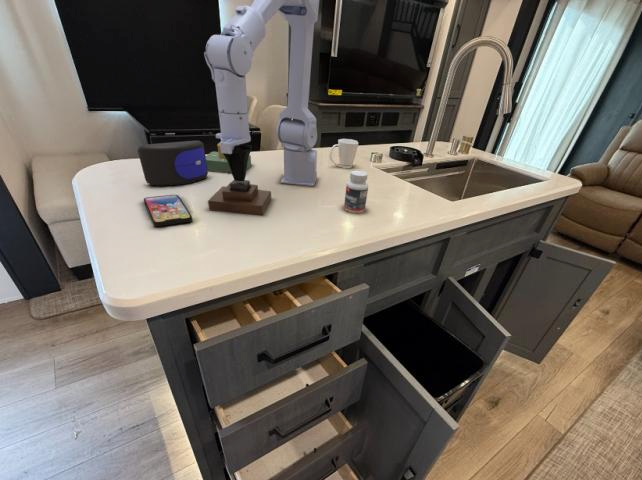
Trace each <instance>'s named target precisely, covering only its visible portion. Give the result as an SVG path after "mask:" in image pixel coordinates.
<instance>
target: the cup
mask: <svg viewBox="0 0 642 480" xmlns="http://www.w3.org/2000/svg"><path fill="white" fill-rule="evenodd" d="M358 146H359V142H358V140H355V139H352V138H340V139H338V140H337V144H334V145H332V147H331V148H330V151H329V159H330V161H331V162H332V163H333V164H334V165H335V166H336V167H338V168H343V169H351V168H353V164H354V161H355V158H356V155H357V150H358ZM336 147H337V148H338V158H339V159H338V160H339V164H337V163H336V162H334V160H333V158H332V155H333V151H334V149H335V148H336Z"/></svg>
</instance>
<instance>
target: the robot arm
mask: <svg viewBox="0 0 642 480" xmlns="http://www.w3.org/2000/svg"><path fill="white" fill-rule="evenodd" d="M319 10H320V0H253V2H252V4H251V5H238V6H236V8H235V14H234V15H233V16H232V18H231V20H230V21H229V22H228V23H227V24H224V26H223V27H222V31H221V32H220V34H213V35H211V36H210V37H209V39H208V40H207V42H206V45H205V51H204V52H203V55H204V59H205V62H206V65H207V67H208V68H209V70H210V73H211V80H212V81H213V82H214V83H215V85H214V86H215V92H216V101H217V109H218V117H219V128H220V132H218V133H216V134H215V139H218V140H219V139H220V142H219V143H220V149H221V153H223V155H224V156H225V158H226V160H227V161H228V164H229V166H230V169H231V172H232V173H231V175H232V177H233V180H235V181H244V180H246V176H247V170H248V169H247V162H248V158H249V155H251V152H252V149H253V146H252V145H251V144H247V143H250V142H251V141H252V139H251V138H252V137H251V135H250V122H249V110H248V109H249V108H248V96H247V95H248V94H247V80H246V75H247V74H248V73H249V72H250V71H251V68H252V60H253V57H254V53H255V50H256V49H257V48H258V46H259V45H260V43H261V42H262V41H263V40H264V39H265V36H266V33H267V31H266V29H267V28H266V24H267V23H268V22H269V21H270V20H271V19H272V17H273V16H275V14H276V13H277V12H278V13H279V14H280V16H281V17H282V19H283V20H285V21H286V22H288V25H289V27H290V46H289V47H290V48H289V49H290V51H289V71H288V91H287V106H285V108H284V109H283V110H281V111H280V112H279V118H278V123H277V126H276V137H277V141H278V142H279V143H280V145H281V147H282V148H283V176H282V178H281V180H280V183H281V184H287V185H288V184H289V185H297V186H298V185H299V186H309V187H314V186H315V185H316V181H317V178H318V170H317V169H318V167H317V165H318V150H317V149H313V148H314V146H315V145H316V143H317V140H318V130H317V118H316V116H315V115H314V114H313V113H312V112H311V110H310V109H309V98H310V97H309V96H310V85H311V84H310V83H311V69H312V57H313V45H314V31H315V23H317V22H318V21H319V20H318V19H319ZM246 169H247V170H246Z"/></svg>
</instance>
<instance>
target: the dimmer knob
mask: <svg viewBox="0 0 642 480" xmlns="http://www.w3.org/2000/svg"><path fill="white" fill-rule="evenodd" d="M216 146H217V152H218V153H219V158H222V159H226V158H225V156H224V155H223V153H221V149H220V142H218V143H217V145H216Z"/></svg>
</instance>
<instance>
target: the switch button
mask: <svg viewBox="0 0 642 480" xmlns="http://www.w3.org/2000/svg"><path fill="white" fill-rule="evenodd" d="M229 184H230V189H231V190H233V191H244V192H247V191H248V190H249V189H250V184H251V180H247V179H245V180H244V181H235V180H234V179H233V180H232V181H230V182H229Z"/></svg>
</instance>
